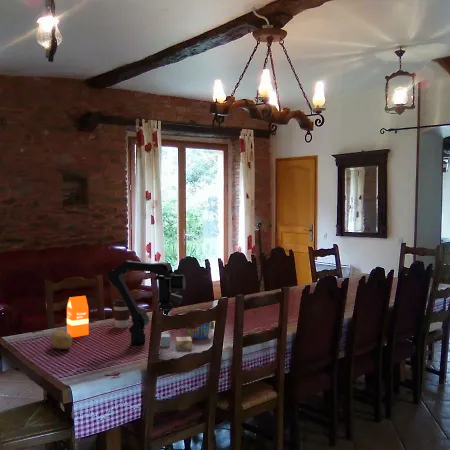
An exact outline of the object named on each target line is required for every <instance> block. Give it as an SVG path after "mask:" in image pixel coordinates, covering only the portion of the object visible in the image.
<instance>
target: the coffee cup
mask: <svg viewBox="0 0 450 450" xmlns="http://www.w3.org/2000/svg"><path fill="white" fill-rule="evenodd" d="M112 306H113V318H114V327H115V328H118V329H124V328H128V327H129V326H130V325H129V323H130V316H131V313H130V311H129V309H128V307H127V306H126V304H125V302H124V300H123V298H118V299H115V300H114V301H113V302H112Z"/></svg>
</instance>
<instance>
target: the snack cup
mask: <svg viewBox="0 0 450 450" xmlns="http://www.w3.org/2000/svg"><path fill="white" fill-rule="evenodd" d="M186 329H187V328H186ZM191 329H192V328H191ZM191 329H187V333H188V334H191V332H192V336H193V338H194V339H197V340H198V339H199V340H202V339H203V340H204V339H207V338H208V337H209V331H210V329H211V330H213V329H215V324H214V321H213V322H210V323H207V324H203V325H201V326H199V327H197V328H194V329H192V331H191Z"/></svg>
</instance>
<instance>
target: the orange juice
mask: <svg viewBox="0 0 450 450" xmlns="http://www.w3.org/2000/svg"><path fill="white" fill-rule="evenodd" d="M66 332H67V333H69V334H70V335H71V336H72V338H76V337H83V336H87V335H88V336H89V305H88V300H87V297H86V295H81V296H79V295H78V296H72V297H71V296H69V299H68V300H67V306H66Z"/></svg>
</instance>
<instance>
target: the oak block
mask: <svg viewBox="0 0 450 450" xmlns="http://www.w3.org/2000/svg"><path fill="white" fill-rule="evenodd" d="M175 340H176V341H175V344H176V347H177V350H178V349H192V344H193V340H192V336H176V337H175Z"/></svg>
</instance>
